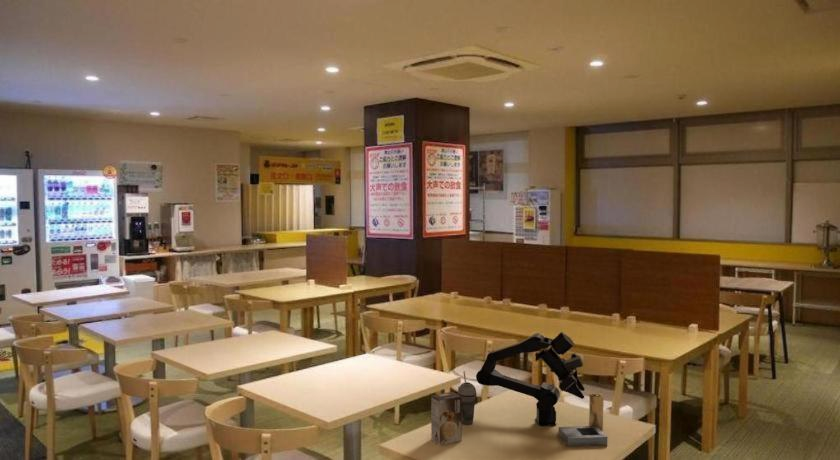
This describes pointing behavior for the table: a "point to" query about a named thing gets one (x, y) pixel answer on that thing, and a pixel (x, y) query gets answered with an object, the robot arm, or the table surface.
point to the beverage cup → (467, 401)
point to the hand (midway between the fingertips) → (583, 394)
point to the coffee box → (446, 418)
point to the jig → (582, 436)
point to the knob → (596, 410)
